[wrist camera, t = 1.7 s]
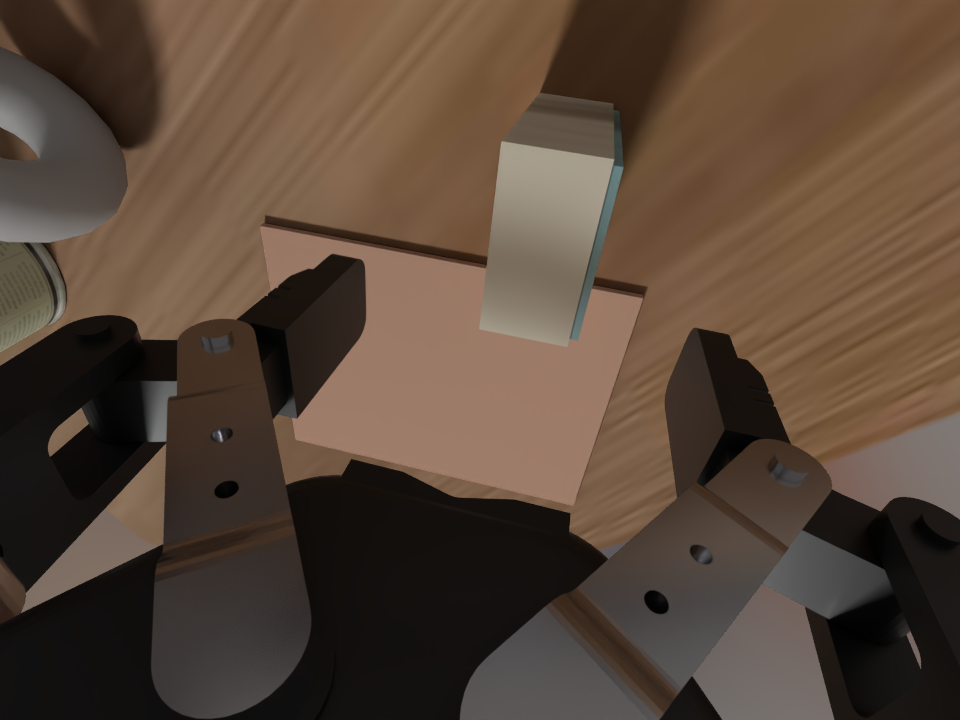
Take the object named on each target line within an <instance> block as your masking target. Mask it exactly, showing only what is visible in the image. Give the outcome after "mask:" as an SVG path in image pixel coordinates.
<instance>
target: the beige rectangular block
mask: <svg viewBox="0 0 960 720" xmlns="http://www.w3.org/2000/svg"><path fill="white" fill-rule="evenodd" d="M623 168H624V164H623V150H622V136H621V122H620V111H616V110H614V105H613V103H606V102H599V101H593V100H586V99H579V98H572V97H566V96H559V95H552V94H545V93H539V95H538V96H537V97H536V98H535V100H534V101H533V102H532V103H531V105H530V106H529V107H528V108H527V110H526V111H525V112H524V114H523V115H522V116H521V117H520V119H519V120H518V121H517V122H516V124H515V125H514V126H513V127H512V129H511V130H510V131H509V132H508V134H507V135H506V136H505V138H504V139H503V140H502V142H501V150H500V158H499V167H498V175H497V184H496V192H495V200H494V209H493V217H492V225H491V234H490V242H489V251H488V259H487V267H486V276H485V284H484V293H483V301H482V309H481V318H480V326H479V329H481V330H486V331H490V332H495V333H500V334H505V335H510V336H515V337H520V338H525V339H530V340H535V341H540V342H545V343H550V344H554V345H559V346H564V347H568V343H569V339H572V340H577V341H578V339H579V335H580V331H581V327H582V324H583V320H584V316H585V312H586V308H587V305H588V301H589V297H590V293H591V289H592V286H593V282H594V278H595V274H596V271H597V267H598V263H599V259H600V255H601V252H602V248H603V244H604V240H605V236H606V233H607V229H608V225H609V221H610V217H611V214H612V210H613V206H614V202H615V198H616V195H617V191H618V187H619V183H620V179H621V176H622V172H623Z"/></svg>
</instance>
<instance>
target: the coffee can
mask: <svg viewBox="0 0 960 720" xmlns="http://www.w3.org/2000/svg"><path fill="white" fill-rule="evenodd" d="M65 306H66V290H65V284H64V281H63V279H62V277H61V275H60V272H59V269H58V267H57V265H56V263H55V261H54V260H53V258H52V257H51V255H50V254H49V252H48V251H47V249H46V248H45V247H44V245H43V244H42V243H39V242H4V241H0V352H1V351H3V350H5V349H6V348H8V347H10V346H12V345H13V344H15V343H17V342H18V341H20V340H22V339H23V338H25V337H27V336H29V335H30V334H32V333H34V332H36V331H37V330H39V329H41V328H43V327H45V326H46V325H50V324H52V323H54V322H55V321H57V320H58V319H59V318H60V317H61V315H62V314H63V312H64V310H65Z"/></svg>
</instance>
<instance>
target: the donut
mask: <svg viewBox="0 0 960 720" xmlns="http://www.w3.org/2000/svg"><path fill="white" fill-rule="evenodd" d="M0 127H1V128H3V129H5V130H7V131H9V132H11V133H13V134H15V135H16V136H18V137H19V138H20V139H22V140H23V141H24V142H26V143H27V144H28V145H29V146H30V147H31V148H32V150H33V151H34V152H35V153H36V154H37V156H38V158H39V159H38V160H33V161H17V160H9V159H4V158H1V157H0V241H4V242H39V243H50V242H54V241H58V240H62V239H67V238H71V237H75V236H79V235H83V234H87V233H90V232H92V231H93V230H94V229H96V228H97V227H99V226H100V225H101V224H103V223H104V222H106V221H107V220H109V219H110V218H111V217H112V216H113V215H114V214H116V213H117V211H118V208H119V206H120V204H121V202H122V200H123V197H124V195H125V193H126V190H127V186H128V182H127V172H126V163H125V158H124V154H123V152H122V150H121V148H120V147H119V145H118V143H117V141H116V139H115V137H114V135H113V133H112V131H111V129H110V128H109V127H108V126H107V125H106V124H105V122H104V121H103V120H102V119H101V118H100V117H99V116H98V115H97V113H96V112H95V111H94V110H93V109H92V108H91V107H90V106H89V104H88V103H87V102H86V101H85V100H84V99H83V98H82V97H80V96H79V95H78V94H77V93H75V92H74V91H73V90H72V89H70V88H69V87H68V86H67V85H65V84H64V83H63V82H62V81H60V80H59V79H58V78H57V77H55V76H54V75H52V74H50V73H49V72H47V71H45V70H44V69H42V68H40V67H39V66H37V65H35V64H33V63H32V62H30V61H28V60H27V59H25V58H23V57H22V56H20V55H18V54H16V53H13V52H11V51H9V50H6V49H4V48H2V47H0Z"/></svg>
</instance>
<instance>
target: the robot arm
mask: <svg viewBox="0 0 960 720" xmlns="http://www.w3.org/2000/svg"><path fill="white" fill-rule="evenodd" d="M365 323H366V277H365V265H364V262H363V261H362V260H361V259H357V258H352V257H347V256H342V255H337V254H330V255H329V256H328V257H327V258H326V259H324V260H323V261H322V262H321V263H320V264H319V265H317V266H316V267H315V268H314V269H306V270H304V271H301V272H298V273H296V274H293V275H291V276H289V277H288V278H287V279H286V280H284V281H283V282H282V283H281V284H279V285H278V288H275V289H273V290H272V291H271V292H270V293H268V296H265V297H264V298H262V299H261V300H260V301H259V302H257V303H256V304H255V305H254V306H253V307H251V308H250V309H249V310H248V311H246V312H245V313H244V314H243V315H242V316H240V317H239V318H238V319H237V320H234V319H215V320H209V321H205V322H201V323H198V324H196V325H194V326H191V327H190V328H188V329H186V330H185V331H184V332H183V333H182V334H181V335H180V336H179V338H178V340H141V337H140V334H139V331H138V328H137V325H136V324H135V322H134V321H132V320H131V319H128V318H126V317H122V316H115V315H103V316H94V317H89V318H84V319H80V320H77V321H74V322H72V323H69V324H67V325H65V326H63V327H62V328H60V329H58V330H57V331H55V332H53V333H52V334H50V335H49V336H47V337H45V338H44V339H42V340H41V341H39V342H37V343H36V344H34V345H33V346H31V347H30V348H28V349H26V350H25V351H23V352H22V353H20V354H18V355H17V356H15V357H14V358H12V359H10V360H9V361H7V362H6V363H4V364H2V365H1V366H0V720H722V719H721V717H720V716H719V714H718V713H717V711H716V710H715V709H714V707H713V706H712V704H711V703H710V701H709V700H708V698H707V697H706V695H705V694H704V692H703V691H702V690H701V688H700V687H699V685H698V684H697V682H696V681H695V679H694V678H693V677H692V675H693V674H694V673H695V671H696V670H697V669H698V667H699V666H700V665H701V663H702V662H703V661H704V659H705V658H706V657H707V655H708V654H709V653H710V652H711V650H712V649H713V648H714V646H715V645H716V644H717V642H718V641H719V640H720V638H721V637H722V636H723V634H724V633H725V632H726V630H727V629H728V628H729V626H730V625H731V624H732V622H733V621H734V620H735V619H736V617H737V616H738V615H739V613H740V612H741V611H742V609H743V608H744V607H745V605H746V604H747V603H748V601H749V600H750V599H751V598H752V596H753V595H754V594H755V592H756V591H757V590H758V588H759V587H760V586H761V584H763V585H765V586H767V587H769V588H771V589H773V590H775V591H777V592H779V593H780V594H782V595H784V596H786V597H788V598H790V599H792V600H794V601H796V602H797V603H799V604H802V605H803V606H805V609H806V613H807V617H808V621H809V624H810V628H811V632H812V635H813V640H814V644H815V647H816V651H817V655H818V659H819V662H820V666H821V670H822V673H823V678H824V682H825V685H826V689H827V693H828V697H829V701H830V704H831V708H832V712H833V716H834V719H835V720H960V520H959V519H958V518H957V517H955V516H954V515H952V514H950V513H949V512H947V511H945V510H943V509H942V508H940V507H938V506H936V505H933V504H931V503H928V502H926V501H923V500H919V499H915V498H909V497H899V498H895V499H893V500H891V501H890V502H889V503H888V504H887V505H886V506H885V507H884V509H883V510H882V511H878V510H876V509H874V508H871V507H869V506H867V505H865V504H863V503H860V502H857V501H856V500H854V499H851V498H849V497H847V496H844V495H842V494H840V493H838V492H836V491H834V490H832V482H831V478H830V476H829V474H828V473H827V471H826V470H825V469H824V467H823V466H822V465H821V464H820V463H819V462H818V461H817V460H816V459H815V458H813V457H812V456H811V455H809V454H808V453H806V452H805V451H803V450H801V449H800V448H798V447H796V446H793V445H791V443H790V441H789V438H788V436H787V434H786V431H785V429H784V426H783V424H782V422H781V419H780V417H779V414H778V412H777V409H776V407H774V406H773V405H774V402H773V400H772V397H771V395H770V394H768V391H769V390H768V388H767V385H766V383H765V381H764V378H763V376H762V375H761V373H760V372H759V371H758V370H757V369H756V368H755V367H754V366H753V365H752V364H751V363H750V362H749V361H748V360H745V359H740V358H738V357H737V355H736V352H735V349H734V346H733V344H732V341H731V338H730V336H729V335H728V334H724V333H719V332H714V331H709V330H704V329H699V328H694V329H692V330H691V332H690V333H689V335H688V337H687V340H686V342H685V344H684V347H683V349H682V351H681V354H680V356H679V359H678V361H677V363H676V366H675V368H674V370H673V373H672V375H671V377H670V380H669V382H668V386H667V390H666V395H665V411H666V419H667V426H668V433H669V441H670V448H671V456H672V463H673V470H674V478H675V485H676V493H677V499H676V500H675V501H674V502H672V503H671V504H670V505H669V506H668V507H667V508H666V509H665V510H663V511H662V512H661V513H660V514H659V515H658V516H657V517H656V518H654V519H653V520H652V521H651V522H650V523H649V524H648V525H647V526H645V527H644V528H643V529H642V530H641V531H640V532H639V533H638V534H636V535H635V536H634V537H633V538H632V539H631V540H630V541H629V542H627V543H626V544H625V545H624V546H623V547H622V548H621V549H620V550H619V551H618V552H616V553H615V554H614V555H613V556H612V557H611V558H610V559H608V558H606V557H605V556H604V555H603V554H602V553H601V552H600V551H599V550H597V549H596V548H595V547H593V546H592V545H591V544H589V543H588V542H586V541H585V540H583V539H582V538H580V537H578V536H577V535H575V534H573V533H571V532H569V525H570V513H567V512H562V511H558V510H554V509H550V508H546V507H542V506H538V505H534V504H530V503H526V502H522V501H518V500H510V499H480V498H457V497H453V496H450V495H448V494H446V493H444V492H442V491H440V490H438V489H436V488H434V487H432V486H430V485H428V484H426V483H424V482H422V481H420V480H418V479H416V478H414V477H412V476H410V475H408V474H406V473H404V472H401V471H397V470H393V469H389V468H385V467H381V466H377V465H373V464H369V463H365V462H361V461H357V460H353V459H351V461H350V462H349V464H348V466H347V468H346V469H345V471H344V473H343V474H342V475H328V476H319V477H313V478H308V479H304V480H300V481H296V482H293V483H291V484H288V485H285V479H284V474H283V469H282V464H281V459H280V454H279V449H278V444H277V439H276V434H275V429H274V424H273V419H274V418H275V416H276V415H277V414H279V415H283V416H287V417H291V418H295V419H298V417H299V416H300V415H301V413H302V412H303V411H304V410H305V408H306V407H307V406H308V404H309V403H310V402H311V400H312V399H313V398H314V397H315V395H316V394H317V393H318V391H319V390H320V389H321V388H322V386H323V385H324V384H325V382H326V381H327V380H328V378H329V377H330V376H331V375H332V373H333V372H334V371H335V369H336V368H337V367H338V366H339V364H340V363H341V362H342V360H343V359H344V358H345V356H346V355H347V354H348V353H349V351H350V350H351V349H352V347H353V346H354V345H355V344H356V342H357V341H358V340H359V338H360V337H361V335H362V333H363V330H364V327H365ZM80 408H82V410H83V412H84V414H85V416H86V418H87V420H88V423H89V424H88V425H87V426H86V427H85V428H84V429H82V430H81V431H80V432H79V433H78V434H77V435H75V436H74V437H73V438H72V439H71V440H70V441H68V442H67V443H66V444H65V445H64V446H63V447H61V448H60V449H59V450H58V451H57V452H56V453H54V454H53V455H52V456H51V457H50V456H49V453H48V442H49V439H50V437H51V435H52V433H53V432H54V430H55V429H56V428H57V427H58V426H59V425H60V424H62V423H63V422H64V421H65V420H66V419H68V418H69V417H70V416H71V415H73V414H74V413H75V412H76V411H78V410H79V409H80ZM165 444H166V468H165V503H164V538H163V545H160V546H158V547H156V548H154V549H152V550H150V551H148V552H146V553H144V554H142V555H140V556H138V557H136V558H134V559H132V560H130V561H128V562H126V563H123V564H122V565H119V566H117V567H115V568H113V569H111V570H109V571H107V572H105V573H103V574H101V575H99V576H97V577H95V578H93V579H91V580H89V581H86V582H84V583H82V584H80V585H78V586H76V587H74V588H72V589H70V590H68V591H66V592H64V593H62V594H60V595H58V596H56V597H54V598H52V599H50V600H48V601H45V602H43V603H41V604H39V605H37V606H35V607H33V608H31V609H29V610H27V611H25V612H23V613H21V611H22V609H23V606H24V604H25V598H26V592H27V591H28V590H29V589H30V588H31V587H32V586H33V585H34V584H35V583H36V582H37V581H38V579H39V578H40V577H41V576H42V575H43V574H44V573H45V572H46V571H47V570H48V569H49V568H50V567H51V566H52V564H53V563H54V562H55V561H56V560H57V559H58V558H59V557H60V556H61V555H62V554H63V553H64V552H65V550H66V549H67V548H68V547H69V546H70V545H71V544H72V543H73V542H74V541H75V540H76V539H77V538H78V536H79V535H81V533H82V532H83V531H84V530H85V529H86V528H87V527H88V526H89V525H90V524H91V523H92V522H93V520H94V519H95V518H96V517H97V516H98V515H99V514H100V513H101V512H102V511H103V510H104V509H105V508H106V507H107V506H108V505H109V504H110V502H111V501H112V500H113V499H114V498H115V497H116V496H117V495H118V494H119V493H120V492H121V491H122V490H123V489H124V488H125V486H126V485H127V484H128V483H129V482H130V481H131V480H132V479H133V478H134V477H135V476H136V475H137V474H138V473H139V471H140V470H141V469H142V468H143V467H144V466H145V465H146V464H147V463H148V462H149V461H150V460H151V459H152V458H153V457H154V455H155V454H156V453H157V452H158V451H159V450H160V449H161V448H162V447H163V446H164V445H165ZM20 613H21V614H20ZM910 631H911V633H912V636H913V638H914V640H915V643H916V645H917V647H918V650H919V653H920V657H921V669H920V667H919V664H918V662H917V659H916V657H915V654H914V652H913V650H912V647H911V645H910V643H909V640H908V638H907V635H906V634H907V633H909V632H910Z"/></svg>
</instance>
